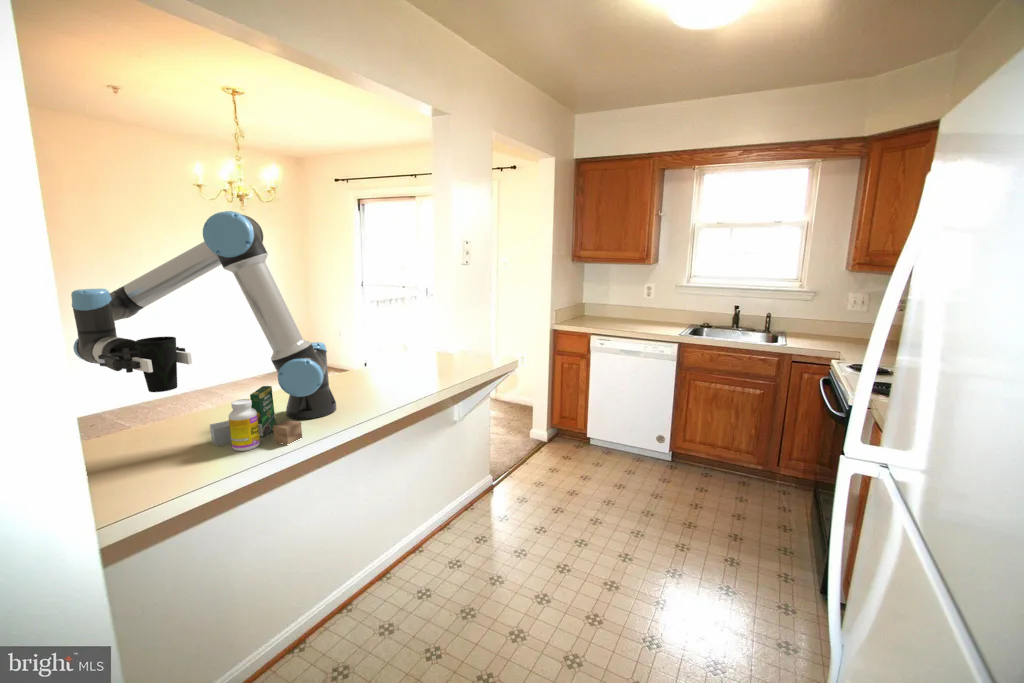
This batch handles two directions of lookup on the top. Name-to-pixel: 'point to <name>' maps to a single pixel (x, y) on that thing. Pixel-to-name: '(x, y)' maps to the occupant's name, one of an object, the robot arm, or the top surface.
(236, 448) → the supplement bottle
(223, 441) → the grey block
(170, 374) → the cup
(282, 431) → the walnut block
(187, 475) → the top surface
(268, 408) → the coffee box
